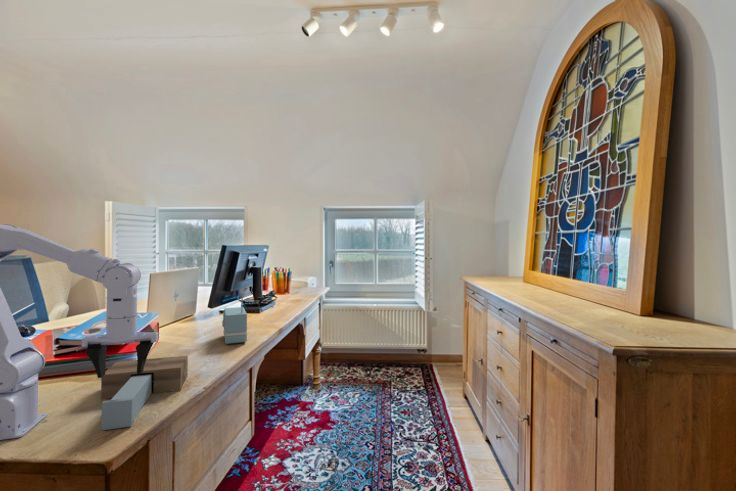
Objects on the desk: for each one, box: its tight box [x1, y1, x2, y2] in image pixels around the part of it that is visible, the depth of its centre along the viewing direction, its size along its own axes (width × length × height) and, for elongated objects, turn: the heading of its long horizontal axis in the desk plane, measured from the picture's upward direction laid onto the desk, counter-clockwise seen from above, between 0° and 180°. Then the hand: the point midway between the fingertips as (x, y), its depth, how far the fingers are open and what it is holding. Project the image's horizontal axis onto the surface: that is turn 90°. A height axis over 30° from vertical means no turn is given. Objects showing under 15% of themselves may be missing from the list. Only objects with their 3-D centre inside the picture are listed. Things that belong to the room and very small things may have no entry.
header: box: [100, 355, 189, 400], centre depth 94 cm, size 10×18×6 cm, turn 109°
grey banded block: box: [221, 293, 248, 345], centre depth 140 cm, size 16×9×20 cm, turn 25°
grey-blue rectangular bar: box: [101, 374, 153, 431], centre depth 81 cm, size 17×5×6 cm, turn 19°
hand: (121, 374), depth 78 cm, fingers open, 7 cm apart
